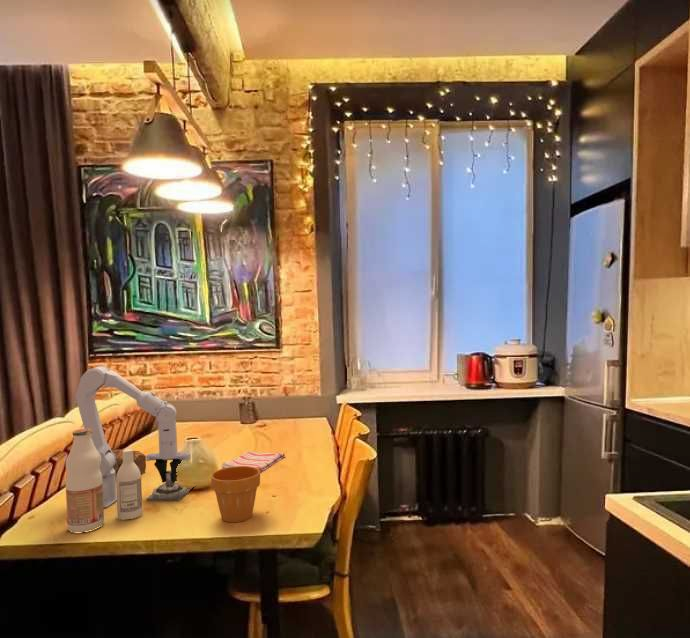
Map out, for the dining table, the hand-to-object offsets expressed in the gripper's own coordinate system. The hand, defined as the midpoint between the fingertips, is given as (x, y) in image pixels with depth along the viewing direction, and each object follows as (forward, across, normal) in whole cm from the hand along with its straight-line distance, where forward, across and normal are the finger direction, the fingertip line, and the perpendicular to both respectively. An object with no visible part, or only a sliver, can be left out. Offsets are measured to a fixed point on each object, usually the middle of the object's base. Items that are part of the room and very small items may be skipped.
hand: (169, 481), depth 173 cm
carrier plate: (+4, 0, -2) cm, 5 cm away
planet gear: (+3, 0, 0) cm, 3 cm away
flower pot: (+5, -28, +18) cm, 34 cm away
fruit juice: (+5, +14, +26) cm, 30 cm away
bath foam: (+5, +4, +18) cm, 19 cm away
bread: (+5, +30, -21) cm, 36 cm away
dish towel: (+5, -19, -36) cm, 41 cm away
